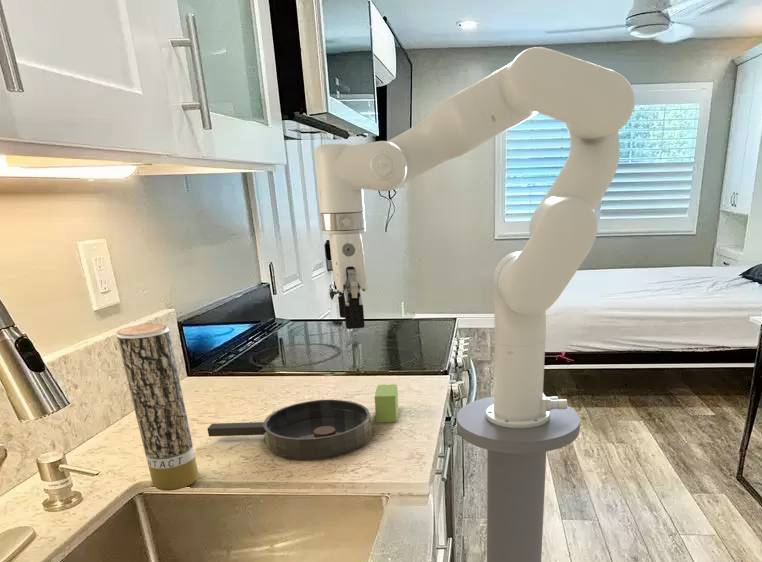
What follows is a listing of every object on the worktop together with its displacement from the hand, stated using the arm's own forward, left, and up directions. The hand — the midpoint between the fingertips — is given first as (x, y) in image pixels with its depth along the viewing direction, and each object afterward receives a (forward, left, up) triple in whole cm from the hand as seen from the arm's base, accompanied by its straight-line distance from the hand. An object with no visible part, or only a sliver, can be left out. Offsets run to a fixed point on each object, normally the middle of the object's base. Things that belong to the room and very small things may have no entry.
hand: (351, 322), depth 104 cm
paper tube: (+27, +21, -21) cm, 40 cm away
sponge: (-5, -5, -20) cm, 22 cm away
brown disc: (+6, +5, -20) cm, 22 cm away
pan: (+7, +5, -20) cm, 22 cm away
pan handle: (+22, +5, -19) cm, 29 cm away
